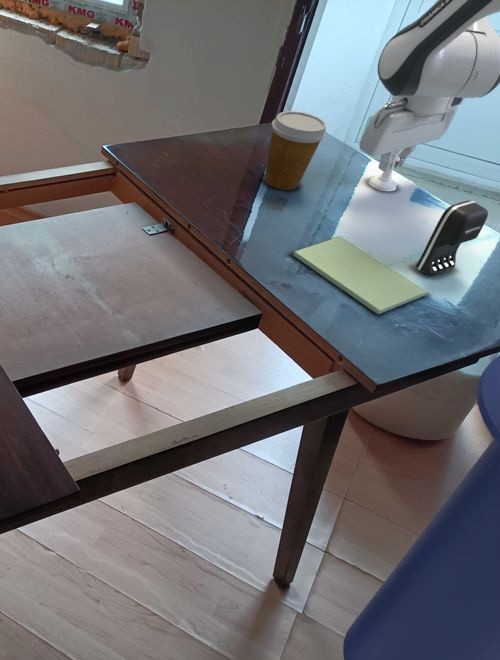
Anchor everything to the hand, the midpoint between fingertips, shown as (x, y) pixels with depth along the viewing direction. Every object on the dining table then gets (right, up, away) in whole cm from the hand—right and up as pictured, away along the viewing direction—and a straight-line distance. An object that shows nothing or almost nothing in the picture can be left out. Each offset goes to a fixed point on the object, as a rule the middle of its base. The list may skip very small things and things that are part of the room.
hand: (389, 167), depth 129 cm
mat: (-16, -23, -22) cm, 35 cm away
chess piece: (0, -3, +3) cm, 4 cm away
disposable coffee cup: (-20, -3, +1) cm, 20 cm away
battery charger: (-2, -22, -19) cm, 29 cm away
